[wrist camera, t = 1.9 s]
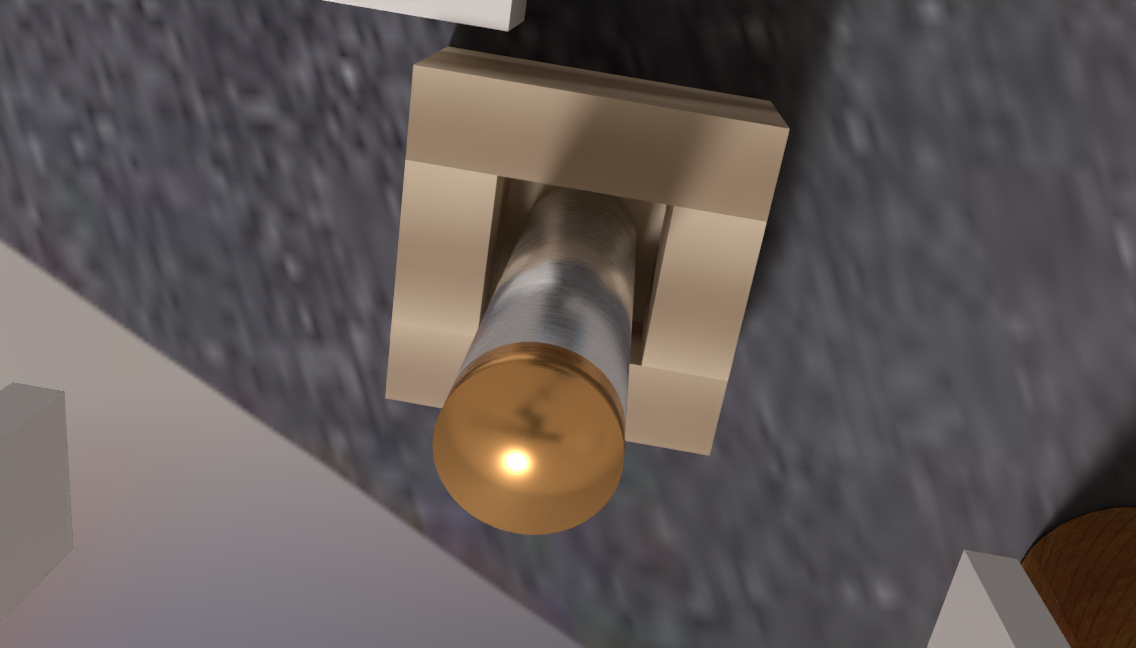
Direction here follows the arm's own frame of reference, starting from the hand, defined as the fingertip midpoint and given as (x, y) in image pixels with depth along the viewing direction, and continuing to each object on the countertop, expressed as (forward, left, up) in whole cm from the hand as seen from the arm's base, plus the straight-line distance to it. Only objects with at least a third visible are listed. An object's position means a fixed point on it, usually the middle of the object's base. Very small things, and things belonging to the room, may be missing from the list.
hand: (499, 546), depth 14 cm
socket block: (0, 0, -15) cm, 15 cm away
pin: (0, 0, -14) cm, 14 cm away
